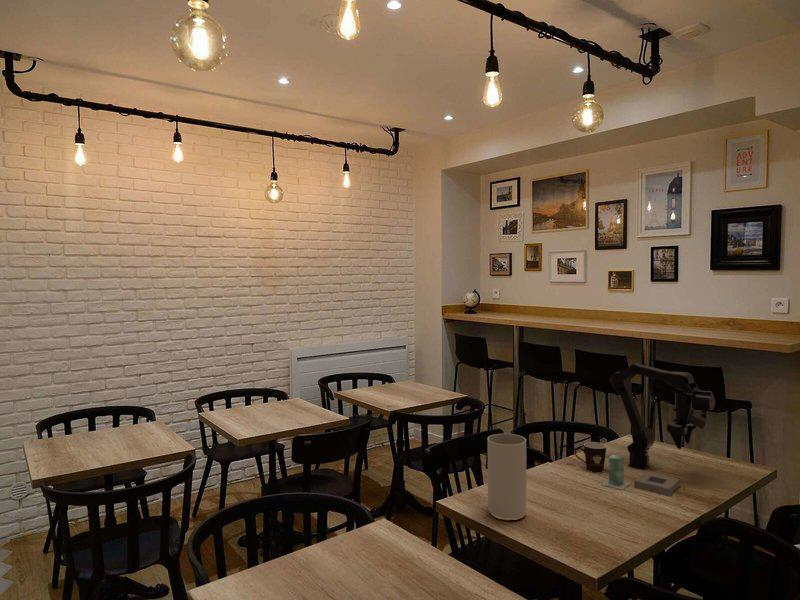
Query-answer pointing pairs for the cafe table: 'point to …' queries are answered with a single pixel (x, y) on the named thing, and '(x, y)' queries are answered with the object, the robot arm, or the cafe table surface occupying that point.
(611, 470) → the peg
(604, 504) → the cafe table surface
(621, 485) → the mat
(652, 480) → the pocket plate
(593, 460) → the coffee mug
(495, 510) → the cylinder vase
